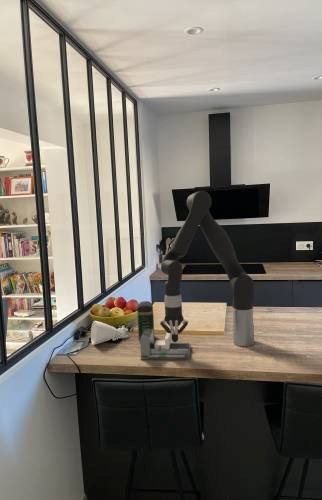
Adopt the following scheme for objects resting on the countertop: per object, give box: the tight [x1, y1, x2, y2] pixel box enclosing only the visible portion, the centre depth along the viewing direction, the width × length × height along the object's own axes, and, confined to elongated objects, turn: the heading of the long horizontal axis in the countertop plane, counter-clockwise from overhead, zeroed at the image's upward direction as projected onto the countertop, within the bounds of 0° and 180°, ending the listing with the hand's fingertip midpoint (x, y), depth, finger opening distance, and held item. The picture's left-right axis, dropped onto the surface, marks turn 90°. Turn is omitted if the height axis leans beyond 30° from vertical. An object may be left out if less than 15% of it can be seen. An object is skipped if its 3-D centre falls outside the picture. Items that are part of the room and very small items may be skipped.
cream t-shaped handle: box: [154, 332, 172, 351], centre depth 167 cm, size 7×11×7 cm, turn 172°
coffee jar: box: [136, 301, 155, 341], centre depth 185 cm, size 10×8×19 cm
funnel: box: [90, 320, 129, 346], centre depth 187 cm, size 12×12×18 cm
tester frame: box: [139, 329, 192, 361], centre depth 168 cm, size 21×14×9 cm, turn 82°
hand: (175, 341), depth 167 cm, fingers closed
